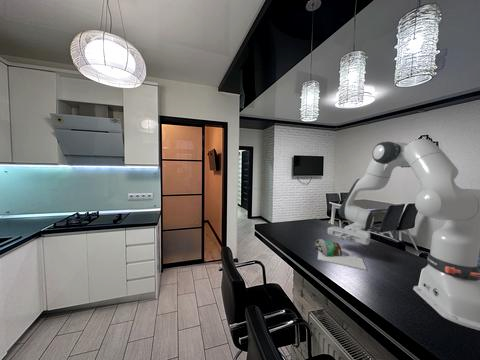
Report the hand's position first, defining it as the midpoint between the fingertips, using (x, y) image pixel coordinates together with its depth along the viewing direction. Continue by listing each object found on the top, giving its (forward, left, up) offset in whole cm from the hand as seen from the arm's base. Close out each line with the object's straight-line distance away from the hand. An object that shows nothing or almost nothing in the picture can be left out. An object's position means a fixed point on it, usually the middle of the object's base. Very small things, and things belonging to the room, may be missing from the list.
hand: (342, 237), depth 99 cm
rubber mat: (-7, +1, -9) cm, 11 cm away
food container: (+2, +2, -6) cm, 6 cm away
